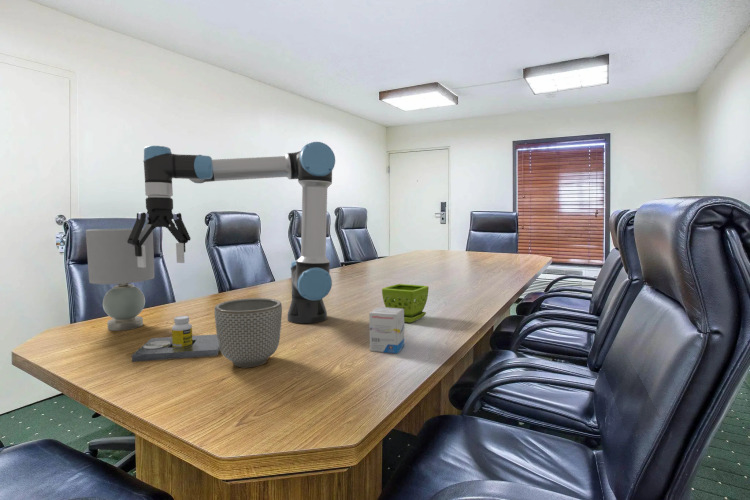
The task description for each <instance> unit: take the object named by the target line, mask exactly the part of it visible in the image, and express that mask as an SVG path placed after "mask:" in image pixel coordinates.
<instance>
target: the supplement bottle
mask: <svg viewBox="0 0 750 500" xmlns="http://www.w3.org/2000/svg"><path fill="white" fill-rule="evenodd" d="M173 321H174V324H173V325H172V327H171V337H172V348H173V347H188V346H192V336H193V326H192V324H191V323H189V322H190V316H188V315H179V316H175V317H174V318H173Z"/></svg>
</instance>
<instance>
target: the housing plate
mask: <svg viewBox="0 0 750 500" xmlns="http://www.w3.org/2000/svg"><path fill="white" fill-rule="evenodd" d="M219 352H221V350H220V347H219V343H218V338H217V333H215V334H199V335H192V346H188V347H173V348H172V336H166V337H152V338H150V339H148V341H146V342H145V343H144V344H143V345H141V347H139V348H138V349H137V350H136V351H135V352H133V353H132V354H131V363H132V362H133V363H134V362H149V361H159V360H176V359H191V358H204V357H206V358H207V357H216V356H217V357H218V355H219Z"/></svg>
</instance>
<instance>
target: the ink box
mask: <svg viewBox="0 0 750 500" xmlns="http://www.w3.org/2000/svg"><path fill="white" fill-rule="evenodd" d="M368 315H369V316H368V317H369V318H368V319H369V351H370V352H379V353H388V354H396V355H398V354H399V352H400V351H401V350H403V348H404V346H405V322H404V309H400V308H388V307H385V306H378V307H376V308H374V309H373V310H372V311H370V312H369V313H368Z"/></svg>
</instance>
